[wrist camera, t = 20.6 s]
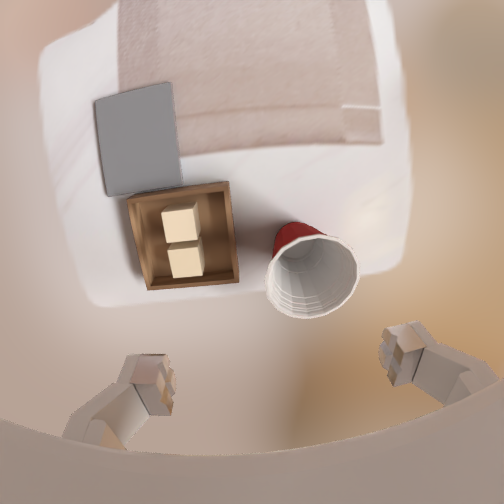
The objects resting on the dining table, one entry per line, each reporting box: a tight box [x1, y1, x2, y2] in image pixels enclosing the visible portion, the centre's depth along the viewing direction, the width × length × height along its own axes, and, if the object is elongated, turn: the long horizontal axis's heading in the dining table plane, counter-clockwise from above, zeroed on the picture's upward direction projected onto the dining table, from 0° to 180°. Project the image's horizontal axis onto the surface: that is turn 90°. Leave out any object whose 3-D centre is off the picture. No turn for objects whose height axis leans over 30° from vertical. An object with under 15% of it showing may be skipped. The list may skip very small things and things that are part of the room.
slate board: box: [95, 82, 183, 197], centre depth 35 cm, size 14×11×1 cm
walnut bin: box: [127, 181, 239, 290], centre depth 39 cm, size 13×13×4 cm
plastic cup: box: [264, 222, 360, 319], centre depth 36 cm, size 11×11×12 cm
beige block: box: [167, 237, 205, 278], centre depth 39 cm, size 4×4×4 cm
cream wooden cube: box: [161, 201, 201, 243], centre depth 37 cm, size 4×4×4 cm
